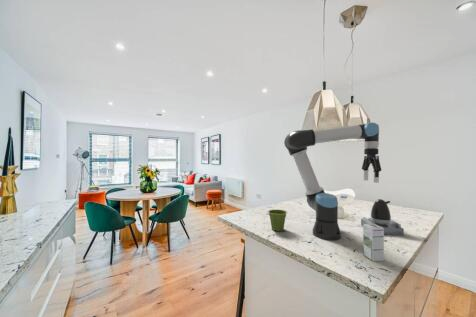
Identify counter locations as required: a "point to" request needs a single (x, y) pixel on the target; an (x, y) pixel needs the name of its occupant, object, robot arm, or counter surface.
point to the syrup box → (373, 242)
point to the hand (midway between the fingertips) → (370, 181)
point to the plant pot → (277, 219)
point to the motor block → (386, 227)
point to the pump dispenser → (380, 212)
